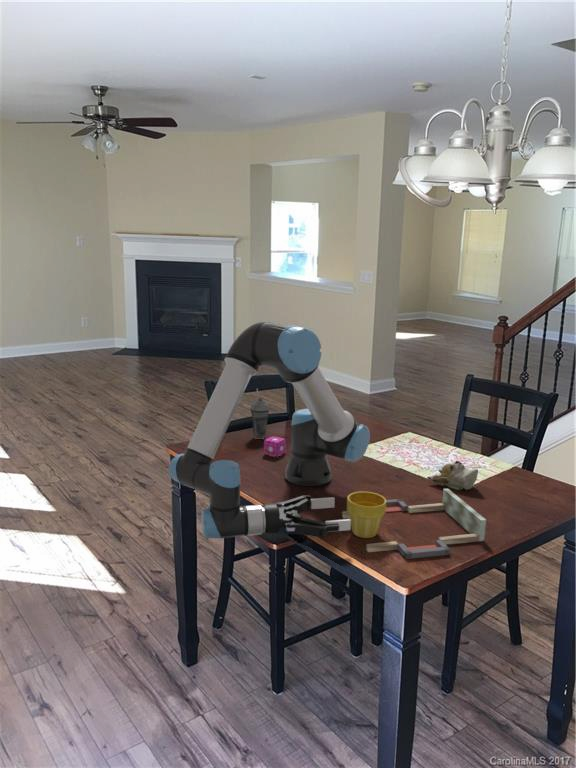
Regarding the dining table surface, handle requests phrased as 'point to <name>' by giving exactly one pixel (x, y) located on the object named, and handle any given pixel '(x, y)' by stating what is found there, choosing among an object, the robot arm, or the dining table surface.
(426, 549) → the trap bays
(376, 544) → the box
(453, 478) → the ceramic sculpture
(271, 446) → the puzzle toy
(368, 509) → the plant pot
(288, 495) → the dining table surface
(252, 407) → the beverage cup
